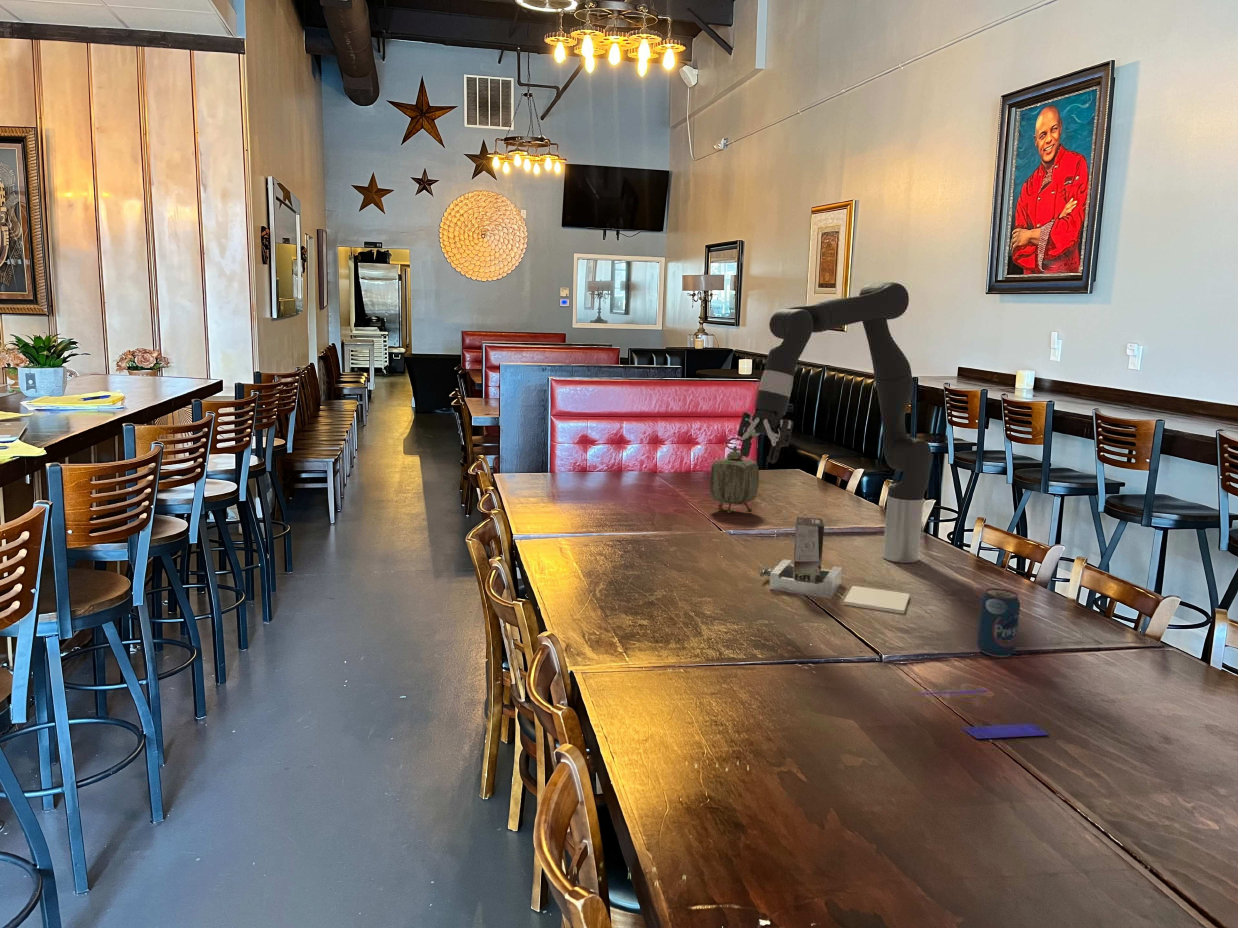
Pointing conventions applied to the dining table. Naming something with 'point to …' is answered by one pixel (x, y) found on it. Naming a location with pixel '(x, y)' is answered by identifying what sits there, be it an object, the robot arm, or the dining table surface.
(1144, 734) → the dining table surface
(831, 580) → the grey drawer
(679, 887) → the dining table surface
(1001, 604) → the soda can
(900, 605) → the pad
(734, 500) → the tabletop clock
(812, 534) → the coffee box
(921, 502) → the robot arm
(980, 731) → the blue strips
